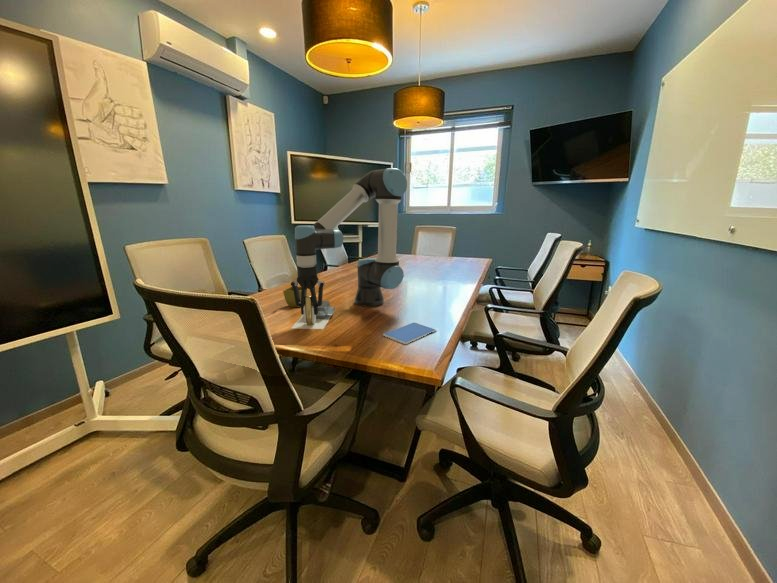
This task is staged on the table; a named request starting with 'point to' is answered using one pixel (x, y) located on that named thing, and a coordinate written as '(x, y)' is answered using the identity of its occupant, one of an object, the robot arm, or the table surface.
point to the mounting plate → (317, 325)
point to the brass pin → (308, 309)
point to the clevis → (324, 310)
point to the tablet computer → (409, 333)
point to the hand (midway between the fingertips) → (310, 321)
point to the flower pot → (291, 296)
